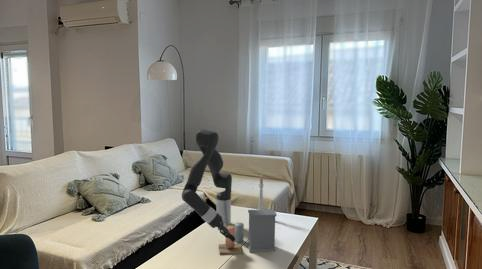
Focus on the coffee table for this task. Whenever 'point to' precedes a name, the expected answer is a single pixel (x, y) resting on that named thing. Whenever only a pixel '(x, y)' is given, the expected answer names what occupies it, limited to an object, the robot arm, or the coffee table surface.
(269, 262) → the coffee table surface
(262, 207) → the candlestick
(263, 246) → the post
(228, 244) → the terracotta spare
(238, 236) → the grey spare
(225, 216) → the robot arm
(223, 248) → the pad
